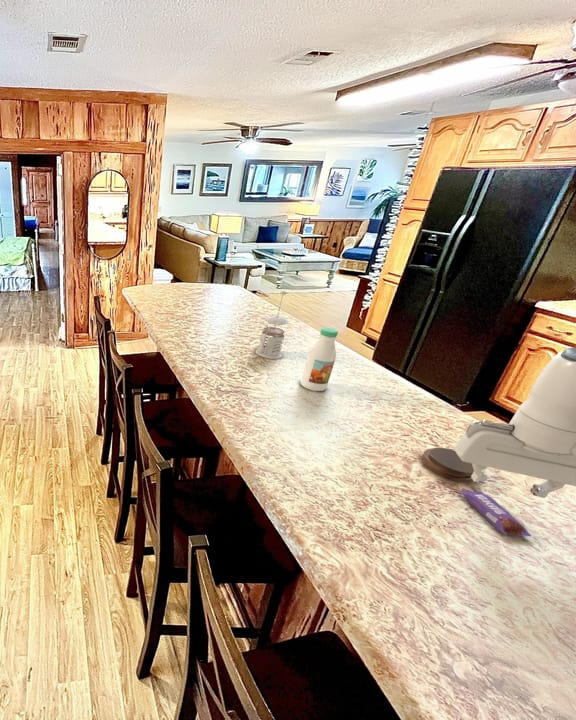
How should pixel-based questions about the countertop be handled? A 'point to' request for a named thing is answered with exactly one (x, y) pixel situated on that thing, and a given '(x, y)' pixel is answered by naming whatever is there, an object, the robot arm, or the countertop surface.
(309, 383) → the milk bottle
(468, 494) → the snack package
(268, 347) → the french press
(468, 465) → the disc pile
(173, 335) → the countertop surface
